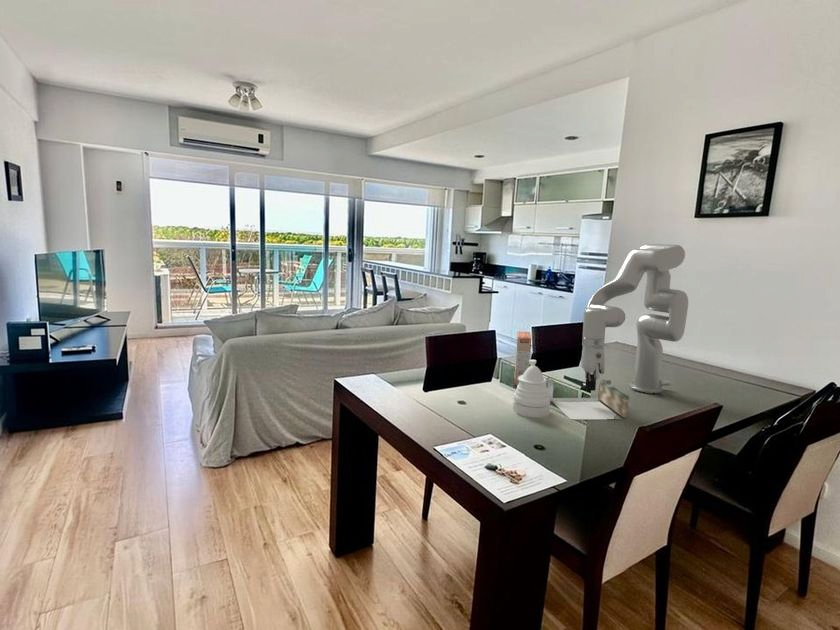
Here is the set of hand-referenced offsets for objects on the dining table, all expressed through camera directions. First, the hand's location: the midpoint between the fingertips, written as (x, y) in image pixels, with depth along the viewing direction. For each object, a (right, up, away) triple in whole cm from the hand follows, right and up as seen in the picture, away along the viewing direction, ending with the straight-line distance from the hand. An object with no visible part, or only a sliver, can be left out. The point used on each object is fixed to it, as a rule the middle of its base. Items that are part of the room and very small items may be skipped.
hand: (590, 389), depth 169 cm
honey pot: (-24, -7, -6) cm, 25 cm away
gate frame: (-3, -5, +5) cm, 8 cm away
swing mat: (-4, -7, -5) cm, 9 cm away
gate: (+7, -6, -3) cm, 9 cm away
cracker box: (-19, -1, +28) cm, 34 cm away
